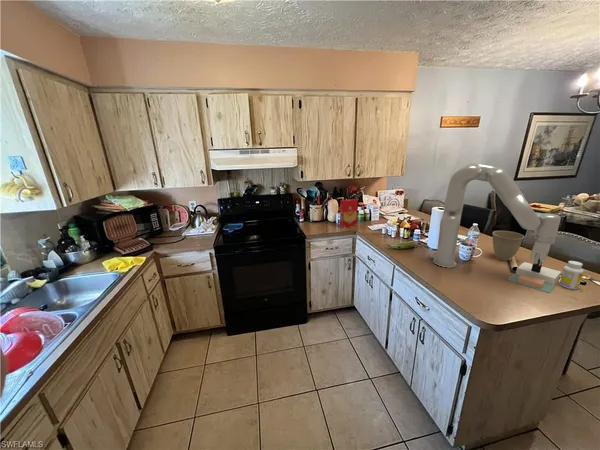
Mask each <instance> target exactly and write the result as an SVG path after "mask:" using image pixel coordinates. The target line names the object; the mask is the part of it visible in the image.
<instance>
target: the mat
mask: <svg viewBox="0 0 600 450" xmlns="http://www.w3.org/2000/svg"><path fill="white" fill-rule="evenodd" d="M520 276H521V275H517V274H516V273H513V274H512V275H511V276H510V277H509V278H507V281H508V282H509V281H510V282H511V283H512V282H513V283H515V284H519V285H522V286H525V287H528V288H530V289H531V288H532V289H534V290H537V291H541V292H544V293H547V294H550V293H551V292H552V290H553V289H554V288H555V286H556V285H555V284H554V285H551V284H548V283H545V284H544V286H543V287H542V288H541V289H539V288H536V287H533V286H529V285H526V284H523V283H520V282H518V278H519V277H520Z"/></svg>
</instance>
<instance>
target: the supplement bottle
mask: <svg viewBox="0 0 600 450" xmlns="http://www.w3.org/2000/svg"><path fill="white" fill-rule="evenodd" d="M582 267H583V263H582V262H580V261H576V260H575V261H574V260H568V262H567V265H565V266H563V268H562V271H561V274H560V278H559V285H560V286H561V287H563V288H565V289H569V290H578V289H579V287H580V286H581V282H582V278H583V275H584V269H583V268H582Z"/></svg>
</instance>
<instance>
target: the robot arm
mask: <svg viewBox="0 0 600 450" xmlns="http://www.w3.org/2000/svg"><path fill="white" fill-rule="evenodd" d="M475 180H476V181H482V182H488V184H489V185H490V186H491V188H492V189H493V190H494V192H495V193H496V195H497V196H498V198H499V199H500V200H501V202H502V203H503V205H504V206H505V207H506V208H507V209H508V210H509V211H510V213H511V215H512V216H513V218H514V219H515V220H516V221H517V223H518V224H519V226H520V227H521V228H522V229H523V230H527V231H534V230H535V231H534V236H533V241H534V244H533V246H532V249H531V252H530V256H529V260H533V261H532V264H533V265H532V269H531V271H533V272H537V273H540V271H541V267H543V262H544V261H545V260H546V259H547V257H548V254H549V252H550V248H551V244H555V242H556V238H557V235H558V231H559V227H560V223H561V219H562V218H561V216H560V215H558V214H556V213H550V212H549V213H547V212H545V213H542V212H535V211H534V209H533V208H532V207H531V205H530V204H529V203H528V201H527V199H526V198H525V196H524V194H523V193H522V190H521V189H520V188H519V186H517V184H516V183H515V181H514V179H512V177H511V176H510V174H509V172H508V171H507V170H506V169H504V168H502V167H499V166H492V165H486V164H485V165H484V164H480V163H469V164H467V165H465V166H464V167H462V168H460V169H458V170H457V171H455V172H454V173H453V174H452V175H451V177H450V179H449V183H448V188H447V192H446V196H445V200H444V207H443V214H442V217H441V219H440V222H439V223H440V224H439V233H438V240H437V241H438V242H437V249H436V253H435V252H430V254H429V255H430V258H433V259H432V263H433V262H434V263H435V264H437V265H439V266H438V267H440V266H442V267H441V268H445V267H447V268H446V269H453V268H456V267H457V262H456V261H455V257H456V250H457V243H458V237H459V231H460V226H461V225H460V224H461V219H462V213H463V210H464V209H463V208H464V205H465V194H466V190H467V186H468V185H469V183H470V182H472V181H475ZM434 263H433V264H434ZM435 264H434V265H435ZM437 265H436V266H437Z"/></svg>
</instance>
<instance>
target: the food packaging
mask: <svg viewBox="0 0 600 450" xmlns="http://www.w3.org/2000/svg"><path fill="white" fill-rule="evenodd" d="M339 201H340V203H339V204H340V205H339V226H341V227H342V229H345V228H344V227H348V228H351V227H350V226H354V227H357V226H358V199H356V198H351V199H341V200H339ZM341 227H340V228H341Z"/></svg>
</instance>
